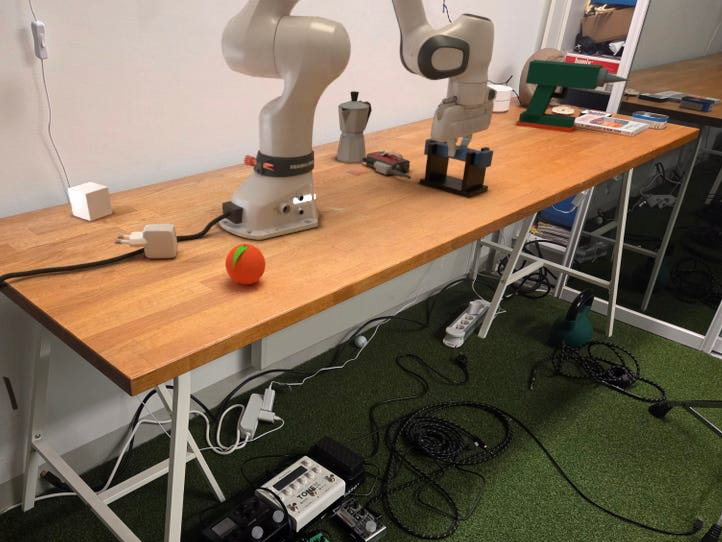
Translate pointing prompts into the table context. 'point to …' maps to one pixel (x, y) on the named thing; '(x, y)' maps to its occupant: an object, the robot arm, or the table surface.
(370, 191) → the table surface
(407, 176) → the walkie-talkie
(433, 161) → the holder
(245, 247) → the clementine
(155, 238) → the power adapter
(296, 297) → the table surface
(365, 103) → the coffee maker
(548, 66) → the power tool
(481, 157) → the handle
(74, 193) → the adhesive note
